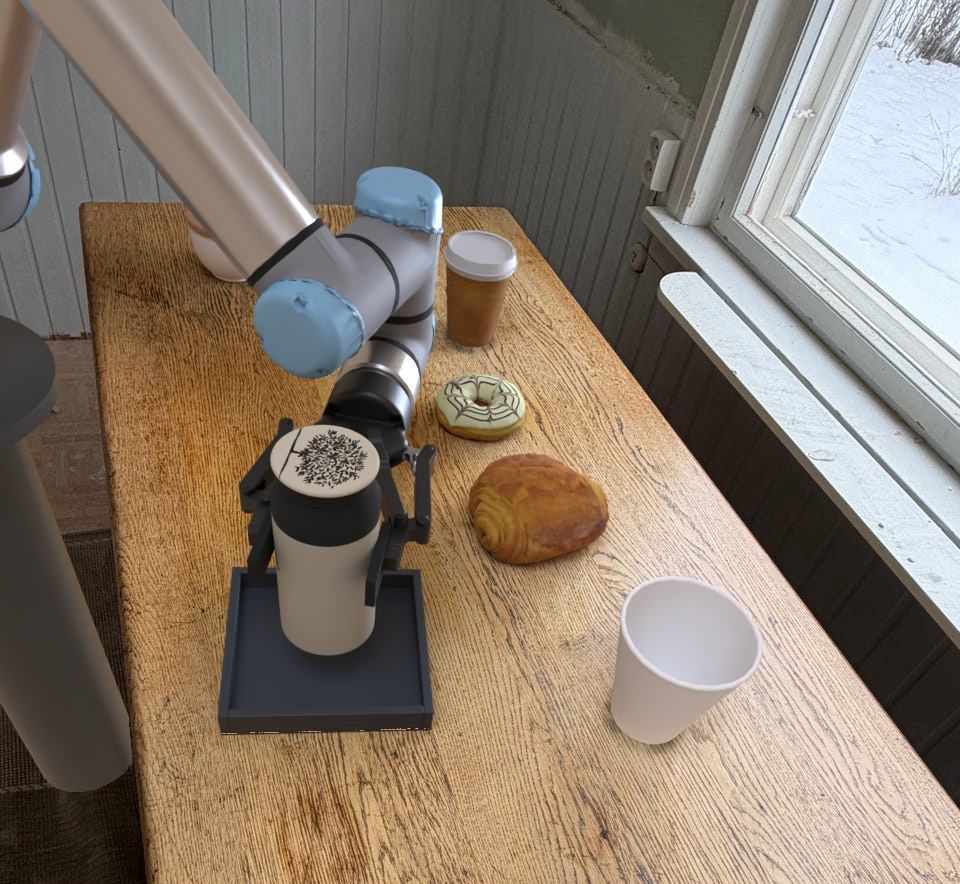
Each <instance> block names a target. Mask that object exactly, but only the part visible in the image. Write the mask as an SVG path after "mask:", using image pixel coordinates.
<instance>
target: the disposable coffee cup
mask: <svg viewBox="0 0 960 884" xmlns="http://www.w3.org/2000/svg"><path fill="white" fill-rule="evenodd" d="M442 254H443V259H444V262H445V273H446V275H445V276H446V277H445V278H446V323H447V324H446V332H447V335H448V337H449V338H450V339H451V340H452V341H454V342H455V343H458V344H460V345H463V346H468V347H482V346H485V345H488V344H489V343H490V342H491V341H492V340H493V337H494V334H495V330H496V327H497V324H498V321H499V318H500V314H501V311H502V307H503V304H504V301H505V298H506V296H507V295H506V294H507V290H508V287H509V285H510V281H511V278H512V275H513V274H514V272H515V270H516V269H517V267H518V259H517V255H516V249H515V246H514V245H513V244H512V243H511V241H509V240H507V239H506V238H505V237H502V236H501V235H498V234H496V233H492V232H489V231H485V230H484V231H483V230H475V229H474V230H473V229H472V230H471V229H470V230H463V231H459V232H456V233H453V234H452V235H450V237H449V238H448V241H447V243H446V245H444V248H443V250H442Z"/></svg>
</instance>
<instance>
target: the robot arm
mask: <svg viewBox="0 0 960 884" xmlns="http://www.w3.org/2000/svg"><path fill="white" fill-rule="evenodd" d="M43 32H44V33H45V34H46V36H47V37H48V38H49V39H50V41H51V42H52V44H54V46H55V47H56V48H57V49H58V51H59V52H60V53H61V54H62V56H63V57H64V58H65V59H66V60H67V61H68V63H69V64H70V65H71V67H72V68H73V69H74V70H75V72H76V73H77V74H78V75H79V76H80V78H81V79H82V80H83V82H84V83H86V85H87V86H88V87H89V88H90V90H91V91H92V92H93V94H94V95H95V96H96V97H97V98H98V100H99V101H100V102H101V103H102V105H103V106H104V107H105V108H106V110H107V111H108V112H109V113H110V115H111V116H112V117H113V118H114V120H115V121H116V122H117V123H118V125H119V126H120V127H121V128H122V129H123V131H124V132H125V133H126V134H127V135H128V137H129V138H130V139H131V140H132V142H133V143H134V144H135V145H136V146H137V148H138V149H139V150H140V151H141V153H142V154H143V155H144V157H145V158H146V159H147V161H148V162H149V163H150V164H151V165H152V166H153V168H154V169H155V170H156V171H157V173H158V174H159V175H160V176H161V177H162V179H163V181H165V183H166V184H167V185H168V186H169V187H170V189H171V190H172V191H173V193H174V194H176V196H177V198H178V199H179V200H180V201H181V202H182V203H183V204H184V206H185V207H186V209H187V208H188V209H189V211H190V212H191V213H192V214H193V216H194V217H195V218H196V219H197V221H198V222H199V223H200V224H201V225H202V227H203V228H204V229H205V230H206V232H207V233H208V234H209V235H210V237H211V238H212V239H213V240H214V241H215V243H216V244H217V245H218V246H219V248H220V249H221V250H222V251H223V253H224V254H225V255H226V256H227V258H228V259H229V260H230V261H231V262H232V264H233V265H234V266H235V267H236V269H237V270H238V271H239V272H240V274H241V275H242V276H243V277H244V279H245V280H246V281H245V282H246V283H247V285H249V287H250V288H251V289H252V291H253V292H254V294H256V297H258V299H257V301H256V302H255V304H254V308H253V313H252V315H253V316H252V319H253V320H252V324H253V329H254V332H255V333H257V336H258V338H259V341H260V347H261V348H262V351H263V352H264V353H265V355H266V356H267V357H268V358H269V360H271V362H272V363H274V364H275V366H277V367H279V368H280V369H282V370H283V371H284V372H285V373H287V374H290V375H292V376H294V377H297V378H300V379H305V380H317V379H321V378H324V377H328V376H330V375H332V374H334V373H335V372H336V371H337V370H338V369H339V368H340V370H339V372H338V374H337V376H336V379H335V382H334V383H333V386H332V388H331V391H330V394H329V396H328V398H327V402H326V404H325V407H324V409H323V412H322V415H321V417H320V419H318V420H317V421H316V422H314V423H312V425H311V426H313V425H332V426H338V427H343V428H346V429H349V430H352V431H354V432H356V433H358V434H360V435H362V436H363V437H365V438H366V439H367V440H368V441H369V442H370V443H371V444H372V445H373V446H374V447H375V449H376V451H377V453H378V456H379V461H380V465H379V470H378V473H377V475H376V477H375V479H376V481H377V483H378V484H379V487H380V490H381V511H380V513H381V514H382V518H383V520H382V521H381V523H380V530H379V536H378V539H377V542H376V545H375V549H374V552H373V556H372V560H371V563H370V567H369V570H368V574H367V578H366V581H365V606H369V607H375V603H376V599H377V596H378V592H379V588H380V584H381V580H382V576H383V573H384V570H388V571H394V572H396V571H397V569H400V566H401V561H402V558H403V554H404V549H405V546H406V545H407V544H408V543H412V542H415V543H416V544H417V545H420V546H425V545H428V544H429V543H430V536H431V528H432V520H433V514H432V513H433V512H432V483H431V482H432V477H433V475H434V473H435V469H436V460H437V451H438V448H437V446H435V445H433V444H431V443H427V444H424V445H423V446H422V448H421V449H420V448H417V447H414V446H412V445H411V446H410V445H409V442H408V440H407V437H408V434H409V433H408V432H409V429H410V426H411V422H412V417H413V414H414V412H415V407H416V404H417V399H418V396H419V392H420V388H421V383H422V381H423V376H424V373H425V369H426V366H427V363H428V360H429V358H430V357H429V356H430V355H431V354H432V352H433V348H434V342H435V335H436V319H435V314H434V310H435V309H434V308H435V306H434V305H435V304H434V303H435V294H436V284H437V273H438V267H439V266H438V265H439V258H440V257H439V255H440V248H441V247H440V246H441V238H442V234H443V233H444V229H443V226H442V225H443V200H444V199H443V193H442V190H441V189H440V186H439V185H438V184H437V183H436V182H435V180H434V179H432V178H430V176H428V175H426V174H424V173H423V172H420V171H417V170H414V169H411V168H407V167H401V166H379V167H374V168H371V169H368V170H366V171H364V172H363V173H362V174H361V175H360V176H359V177H358V179H357V182H356V186H355V194H354V201H353V202H352V203H353V207H352V208H353V210H354V218H353V221H352V222H350V223H349V224H348V225H347V226H345V227H344V228H343V229H341V231H339V232H338V233H336V234H335V235H334V234H333V232H332V231H331V229H330V228H329V227H328V226H327V224H326V223H325V222H324V221H323V220H322V219H321V217H320V215H319V214H318V213H317V212H316V210H315V208H313V206H312V204H311V203H310V202H309V200H308V199H307V198H306V196H305V195H304V194H303V192H302V191H301V189H300V188H299V186H297V184H296V183H295V181H294V180H293V179H292V177H291V176H290V174H289V173H288V172H287V170H286V169H285V168H284V166H283V165H282V164H281V162H280V161H279V159H278V158H277V157H276V155H275V154H274V153H273V151H272V150H271V149H270V147H269V146H268V145H267V143H266V142H265V140H264V138H263V137H262V136H261V134H260V133H259V132H258V131H257V129H256V128H255V126H253V124H252V122H251V121H250V120H249V118H248V117H247V115H246V114H245V112H243V110H242V108H240V106H239V105H238V103H237V102H236V101H235V99H234V98H233V96H232V95H231V94H230V92H229V91H228V90H227V88H226V87H225V86H224V84H223V82H222V81H221V80H220V79H219V77H218V76H217V75H216V73H215V72H214V71H213V69H212V68H211V66H210V65H209V63H207V61H206V60H205V58H204V56H202V54H201V53H200V51H199V50H198V49H197V47H196V46H195V45H194V43H193V42H192V40H191V39H190V38H189V36H188V35H187V34H186V32H185V31H184V30H183V28H182V26H181V25H180V24H179V23H178V21H177V20H176V18H175V17H174V15H173V14H172V13H171V12H170V10H169V9H168V8H167V6H166V5H165V4H164V2H163V1H162V0H0V233H3V232H7V231H8V230H11V229H13V228H14V227H16V226H17V224H20V223H21V222H22V221H23V220H24V219H25V218H26V217H28V216H29V215H30V214H32V212H33V211H34V209H35V208H36V206H37V204H38V202H39V198H40V195H41V189H42V187H41V182H42V180H41V174H40V169H39V168H38V167H37V166H36V165H34V162H33V161H35V159H36V156H35V153H34V151H33V149H32V147H31V145H30V143H29V141H28V139H27V136H26V134H25V132H24V129H23V128H22V126H21V125H20V123H19V122H20V119H21V115H22V111H23V107H24V104H25V100H26V96H27V91H28V88H29V84H30V80H31V78H32V77H31V76H32V72H33V69H34V65H35V61H36V57H37V54H38V50H39V47H40V46H39V45H40V42H41V38H42V35H43ZM302 427H303V426H295V425H294V420H293V419H292V418H290V417H281V418H280V419H279V421H278V427H277V433H276V434H275V436H274V437H273V439H272V440H271V441H270V443H269V444H268V445H267V446H266V448H265V449H264V451H263V452H262V453H261V454H260V456H258V459H257V460H256V461H255V462H254V463H253V464H252V465H251V467H250V468H249V470H248V471H247V473H246V474H244V475H245V476H243V478H242V479H241V480H240V482H239V483H238V486H237V487H238V494H239V495H238V496H239V502H240V508H241V509H240V510H241V511H242V513H244V514H249V515H250V514H251V518H250V519H249V523H248V524H247V527H246V530H247V537H248V544H249V545H248V546H250V547H251V548H250V551H249V554H248V556H247V558H246V567H247V568H248V576H249V583H250V586H255V587H260V585H261V583H262V580H263V578H264V575H265V573H266V570H267V568H268V567H269V565H270V562H271V559H272V557H273V555H274V553H275V548H274V537H273V525H272V514H271V503H270V487H271V484H272V482H273V480H274V479H275V477H276V475H275V474H274V472H273V470H272V467H271V461H270V458H271V452H272V450H273V448H274V446H275V444H276V443H277V442H278V441H279V440H280V439H281V438H282V437H283V436H285V435H286V434H288V433H290V432H292V431H294V430H296V429H299V428H302ZM405 462H407V464H408V469H409V471H411V476H412V477H414V481H413V517H409V511H406V509H405V507H404V503H403V501H402V498H401V495H400V492H399V489H398V487H397V483H396V480H395V478H394V476H393V472H392V470H393V469H394V468H396V467H398V466H400V465H402V464H403V463H405Z"/></svg>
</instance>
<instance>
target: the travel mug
mask: <svg viewBox="0 0 960 884" xmlns="http://www.w3.org/2000/svg"><path fill="white" fill-rule="evenodd" d="M312 425H313V424H312ZM312 425H308V426H301V427H302V428H299V429H296V430H294V431H292V432H290V433H288V434H286V435H285V436H283V437H282V438H281V439H280V440H279V441H278V442H277V443H276V444H275V446H274V448H273V450H272V452H271V458H270V461H271V467H272V470H273V472H274V474H275V475H276V477H275V479H274V480H273V482H272V484H271V487H270V503H271V514H272V525H273V537H274V548H275V550H274V557H275V567H276V571H277V582H278V593H279V605H280V616H281V625H282V629H283V631H284V633H285V635H286V637H287V638H288V639H289V640H290V641H291V642H292V643H293V644H294V645H295V646H297V647H298V648H300V649H302V650H304V651H306V652H309V653H313V654H317V655H338V654H343V653H346V652H349V651H351V650H353V649H355V648H357V647H359V646H360V645H361V644H363V643H364V642H365V641H366V640H367V639H368V637H369V636H370V634H371V633H372V630H373V627H374V622H375V607H369V606H365V581H366V578H367V574H368V570H369V567H370V563H371V560H372V556H373V552H374V549H375V545H376V542H377V539H378V536H379V531H380V527H381V490H380V487H379V484H378V483H377V481H376V479H375V477H376V475H377V473H378V470H379V465H380V461H379V456H378V453H377V451H376V449H375V447H374V446H373V445H372V444H371V443H370V442H369V441H368V440H367V439H366V438H365V437H363V436H362V435H360V434H358V433H356V432H354V431H352V430H349V429H346V428H343V427H338V426H332V425H313V426H312ZM375 604H376V603H375Z"/></svg>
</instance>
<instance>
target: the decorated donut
mask: <svg viewBox="0 0 960 884" xmlns="http://www.w3.org/2000/svg"><path fill="white" fill-rule="evenodd" d="M435 407H436V408H435V409H436V416H437V419H438V422H439V424H441V425H442V426H443V427H444V428H445V429H446V430H447V431H449V432H450V433H451V434H453V435H457V436H458V437H459V436H460V437H463V438H464V439H470V440H471V439H472V440H477V441H493V442H494V441H498V440H501V439H503V438H506V437H508V436H510V435H511V434H513V433H514V432H515V431H517V429H518V428H519V427H520V426H521V425H522V424H523V422H524V420H525V416H526V403H525V400H524V398H523V396H522V393H521V392H520V390H519V389H518V388H517V386H516V385H515V384H513V383H511V382H509V381H507V380H506V379H505V378H501V377H498V376H497V375H496V376H495V375H491V374H488V373H469V374H464V375H461V376H459V377H456V378H453V379H451V380H449V381H448V382H446V383H445V384H443V385H442V386H441V387H440V389H438V391H437V394H436V406H435Z"/></svg>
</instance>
